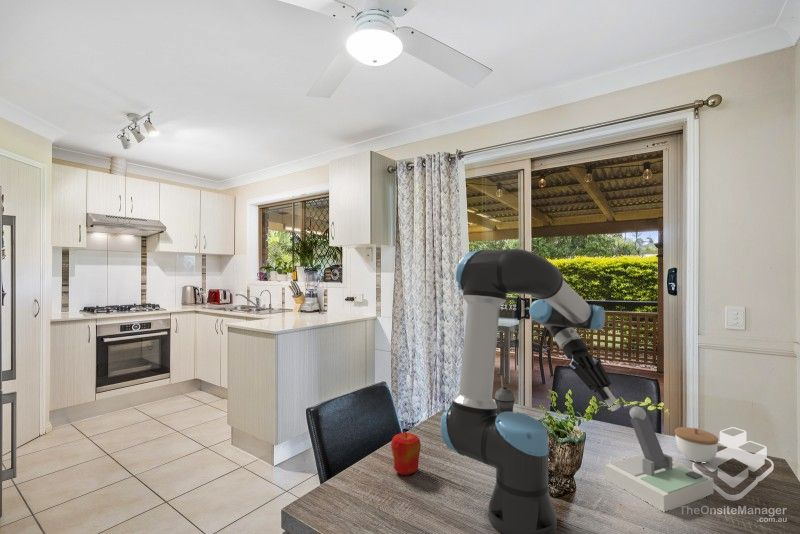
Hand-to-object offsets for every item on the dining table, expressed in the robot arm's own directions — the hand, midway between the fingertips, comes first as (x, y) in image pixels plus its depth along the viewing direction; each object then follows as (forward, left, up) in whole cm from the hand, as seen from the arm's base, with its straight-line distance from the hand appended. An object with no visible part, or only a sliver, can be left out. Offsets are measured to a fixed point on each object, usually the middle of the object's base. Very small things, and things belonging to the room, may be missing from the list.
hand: (616, 408), depth 115 cm
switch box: (-9, -9, -17) cm, 21 cm away
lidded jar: (+14, -24, -17) cm, 32 cm away
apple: (-28, +57, -17) cm, 66 cm away
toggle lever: (-9, -9, -12) cm, 18 cm away
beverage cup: (+13, +34, -17) cm, 41 cm away
